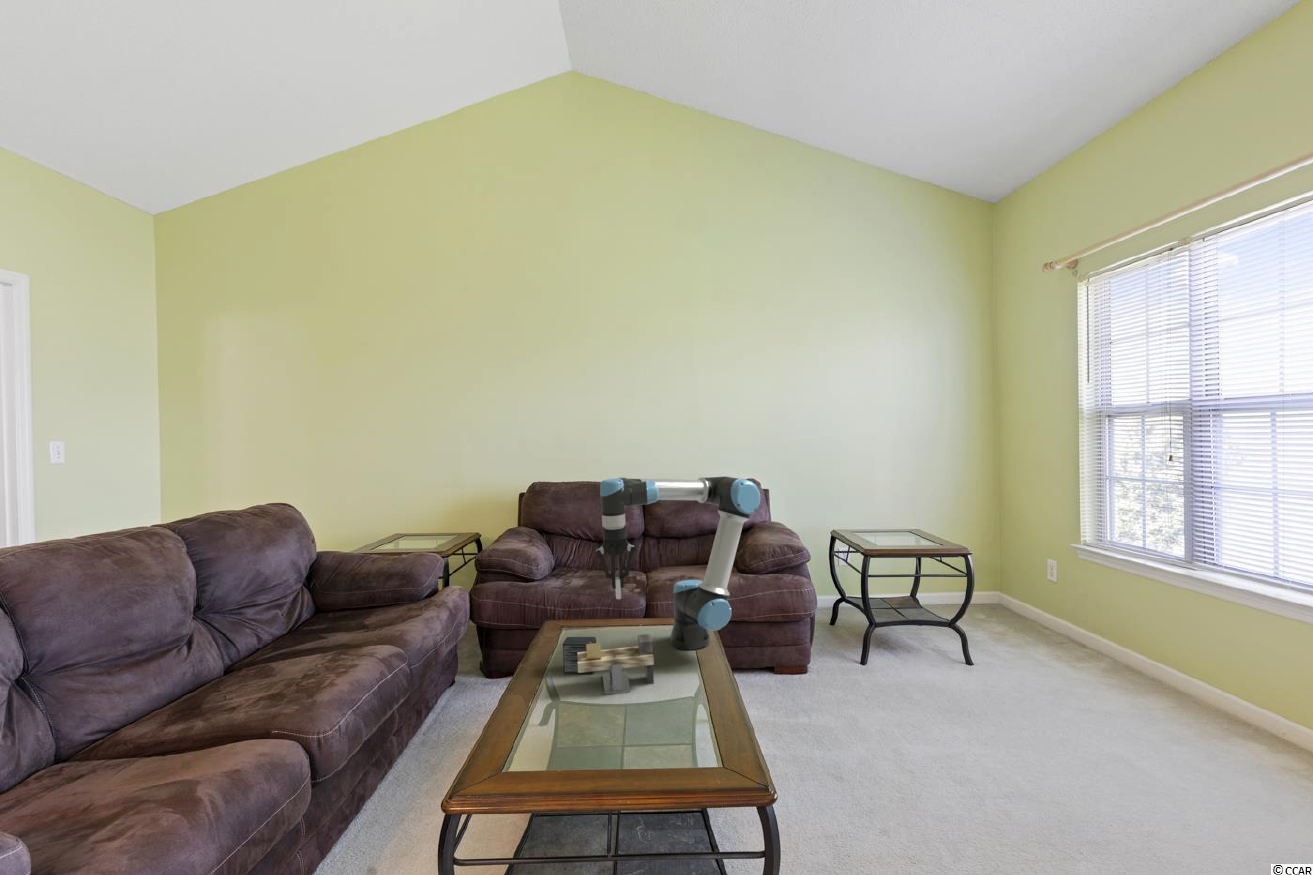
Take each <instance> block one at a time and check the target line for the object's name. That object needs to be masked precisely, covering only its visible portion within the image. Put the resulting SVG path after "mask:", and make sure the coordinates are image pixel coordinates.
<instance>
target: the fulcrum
mask: <svg viewBox="0 0 1313 875" xmlns="http://www.w3.org/2000/svg"><path fill="white" fill-rule="evenodd" d="M622 670H623V668H622V667H621V663H618V664H612V669H609V672H606V673H602V675H601V676H602V682H603V689H604V690H603V691H604V695H605V696H606V695H616V694H623V693H624V694H625V693H630V692H631V686H630V683H629V677H628V674H627V670H626V671H622ZM644 670H645V679H646V680H645V681H646V683H647V685H652V684H654V683H655V682H654V676H655V675H654V666H653V665H645V666H644Z"/></svg>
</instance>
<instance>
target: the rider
mask: <svg viewBox="0 0 1313 875" xmlns="http://www.w3.org/2000/svg"><path fill="white" fill-rule="evenodd" d="M601 650H602V646H601V642H596V643H593V644H586V652H587V661H593V660H601Z"/></svg>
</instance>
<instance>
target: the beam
mask: <svg viewBox="0 0 1313 875" xmlns="http://www.w3.org/2000/svg"><path fill="white" fill-rule="evenodd" d="M653 644H654V643H653V639H652V636H651V634H650V633H646V634H645V633H644V634H638V635H637V645H636V646H627V647H617V648H607V649H601V660H593V661H587V652H577V658H578V673H582V672H591V671H595V672H597V671H607V670H609V671H610V669H612V664H618V663H621V667H622V669H627V668H633V667H635V668H636V667H645V665H652V666H653V665H655V664H654V663H655V662H654V659H655V658H654V648H653Z"/></svg>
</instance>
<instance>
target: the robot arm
mask: <svg viewBox="0 0 1313 875" xmlns="http://www.w3.org/2000/svg"><path fill="white" fill-rule="evenodd" d="M599 490H600V491H599V492H600V493H599V495H600V503H601V504H600V505H601V507H600V508H601V521H602V522H601V523H602V524H601V525H602V527H603V529H602V540H603V541H602V544H601V545H602V546H600V547H599V548H596V549H595V552H596V555H598V557H599V558H600V561H601V565H602V569H603V571H604V575H605V577H606V579H610V580H611V588H612V589H613V590H615V591H614V592H615V598H616V600H621V599H622V591H621V590H622V589H623V588H624V586H625V584H624V578H625V577H628V576H629V575H630V569H631V564H632V559H633V554H634V552H635V550H636V547H635V545H634V544H631V543H629V541H628V540H627V539H628V538H627V527H626V508H628V507H635V506H642V505H650V504H655V503H656V502H657V501H697V502H698V503H699V504H711V505H714V506H718V507H717V512H718V514H719V517H720V518H719V521H718V525H717V528H716V533H715V536H714V539H713V544H712V548H711V550H710V551H711V552H710V556H709V560H708V564H707V567H706V570H705V573H704V578H703V580H700V579H685V580H680V581H678V582H676V583H674V585H673V590H672V594H673V613H674V614H673V616H674V621H673V622H674V623H673V625H672V629H671V632H670V638H669V639H670V641H669V642H670V644H671V646H673V647H674V648H677V649H680V650H685V649H689V651H693V650H692V649H695V650H699V649H698V648H701V649H703V648H702V647H704V646H706V645H708V644H709V643H711V634H710V631H711V632H714V631H715V632H716V631H719V630H721V629H723V628H724V627H725V626H726V625H727V624H728V623H729V622H730V620H731V617H732V613H733V611H732V607H731V605H730V603H729V599H730V592H729V590H728V585H729V581H730V576H731V574H732V569H733V565H734V562H735V558H736V554H737V549H738V546H739V543H740V539H741V533H742V529H743V527H744V523H746V522H747V521H749V519H750V516H751V514H753V513H754V512H755V511H756V510H757V509H758V508H759V506H760V503H761V493H760V490H759V489H758V486H757V484H755V483H754V482H752V481H750V480H747V479H746V478H745V479H744V478H739V477H737V478H736V477H731V476H713V477H698V479H666V478H665V479H661V478H660V479H659V478H627V477H618V478H608V479H603V480H602V481H601V482H600V488H599ZM626 550H627V555H626V559H625V566H624V564H623V554H624V552H625V551H626ZM604 552H605V553H607V554H608V556H609V563H610V572H609V569H608V566H607V562H606V560H605V556H604ZM615 556H617V565H618V566H617V567H618V568H617V569H618V576H616V565H615V563H616V562H615V561H616V560H615ZM623 566H624V567H623ZM709 645H710V644H709ZM709 645H708V646H709ZM706 647H707V646H706ZM704 648H705V647H704Z"/></svg>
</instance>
